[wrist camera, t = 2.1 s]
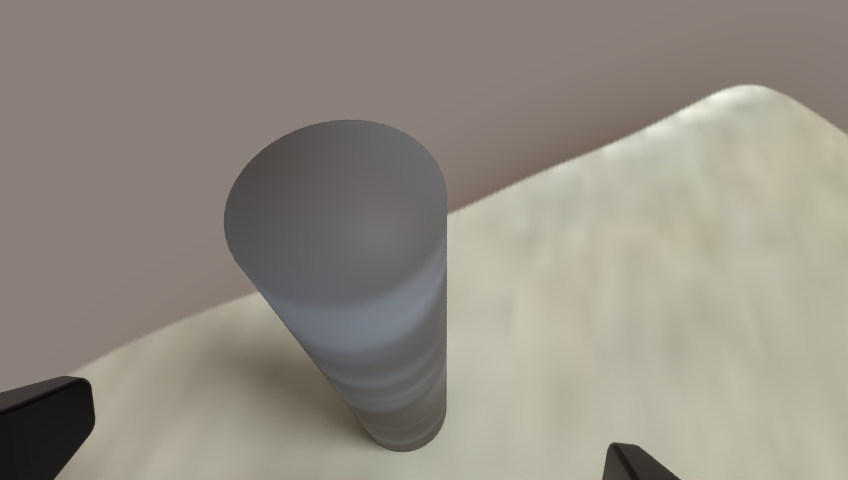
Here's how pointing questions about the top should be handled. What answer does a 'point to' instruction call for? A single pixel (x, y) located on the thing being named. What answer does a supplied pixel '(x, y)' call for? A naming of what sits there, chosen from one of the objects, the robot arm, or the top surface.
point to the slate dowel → (354, 266)
